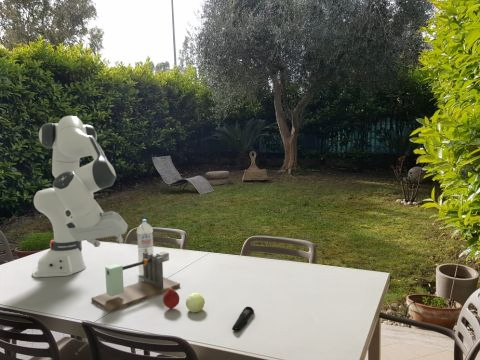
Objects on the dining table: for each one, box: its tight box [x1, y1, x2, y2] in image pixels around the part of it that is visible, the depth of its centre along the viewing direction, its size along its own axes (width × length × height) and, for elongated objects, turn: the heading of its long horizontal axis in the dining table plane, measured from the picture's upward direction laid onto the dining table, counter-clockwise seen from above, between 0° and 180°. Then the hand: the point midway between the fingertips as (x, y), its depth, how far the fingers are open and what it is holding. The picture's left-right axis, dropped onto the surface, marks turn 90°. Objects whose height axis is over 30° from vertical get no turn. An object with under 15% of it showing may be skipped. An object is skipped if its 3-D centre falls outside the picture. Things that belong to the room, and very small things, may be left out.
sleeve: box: [104, 263, 125, 296], centre depth 148 cm, size 5×4×10 cm
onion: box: [162, 287, 181, 310], centre depth 142 cm, size 6×6×8 cm
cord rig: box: [90, 251, 181, 314], centre depth 155 cm, size 31×14×14 cm, turn 137°
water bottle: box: [136, 218, 155, 278], centre depth 176 cm, size 7×7×25 cm
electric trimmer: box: [231, 306, 255, 332], centre depth 132 cm, size 4×16×3 cm, turn 160°
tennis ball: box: [185, 292, 205, 313], centre depth 141 cm, size 6×7×7 cm
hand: (109, 243), depth 140 cm, fingers open, 8 cm apart
